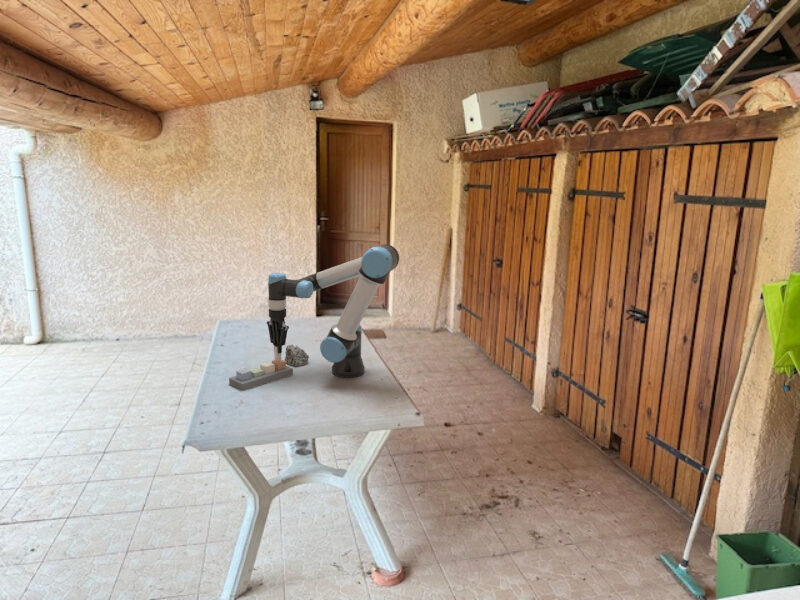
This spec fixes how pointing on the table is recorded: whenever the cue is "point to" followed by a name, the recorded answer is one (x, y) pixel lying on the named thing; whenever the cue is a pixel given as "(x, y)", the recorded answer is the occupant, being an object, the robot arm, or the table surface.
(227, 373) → the table surface
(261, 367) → the key cream
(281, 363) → the key terracotta
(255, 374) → the key sage
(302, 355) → the rock
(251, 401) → the table surface
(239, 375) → the key slate
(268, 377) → the grey socket tray
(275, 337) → the robot arm
